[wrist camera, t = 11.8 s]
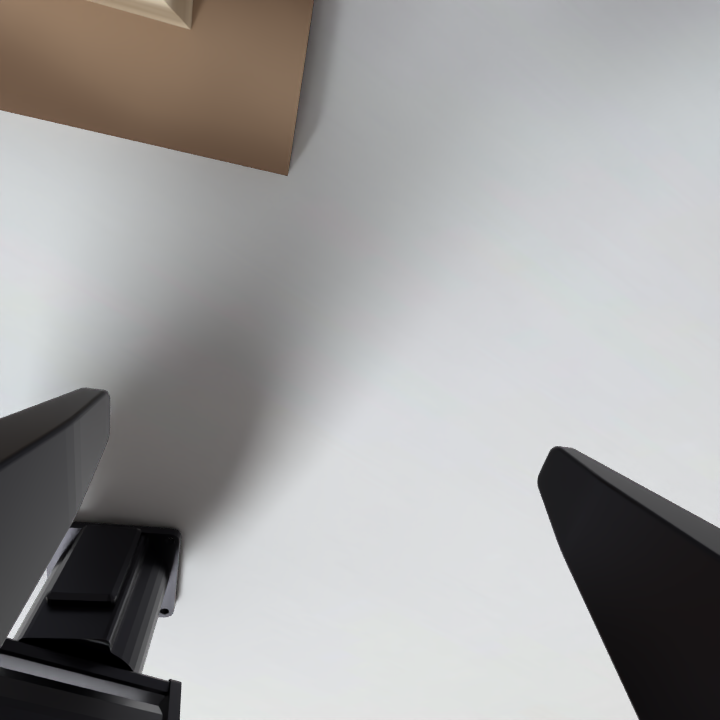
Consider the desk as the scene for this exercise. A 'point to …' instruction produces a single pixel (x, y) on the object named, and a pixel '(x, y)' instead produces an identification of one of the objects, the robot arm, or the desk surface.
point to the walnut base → (162, 74)
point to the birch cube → (156, 9)
